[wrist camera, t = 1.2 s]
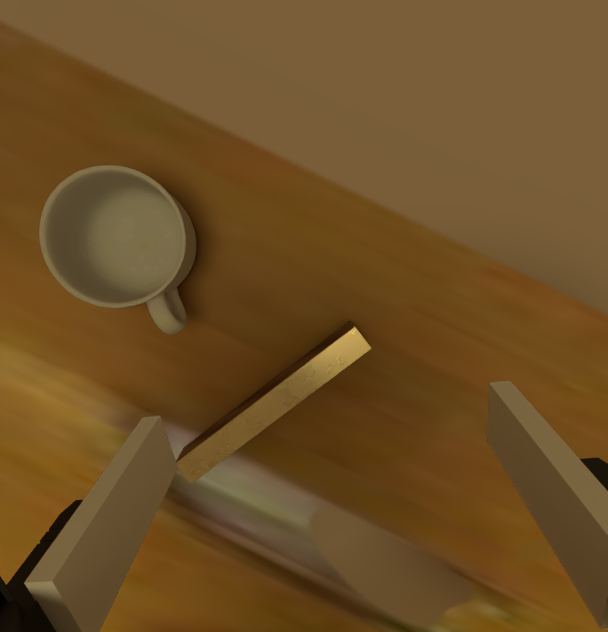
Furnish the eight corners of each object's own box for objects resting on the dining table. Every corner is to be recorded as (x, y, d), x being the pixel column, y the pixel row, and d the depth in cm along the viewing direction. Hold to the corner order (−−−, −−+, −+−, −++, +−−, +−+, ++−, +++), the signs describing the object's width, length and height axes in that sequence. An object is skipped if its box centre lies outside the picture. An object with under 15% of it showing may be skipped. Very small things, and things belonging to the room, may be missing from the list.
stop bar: (199, 465, 40) (190, 484, 36) (183, 447, 39) (173, 464, 36) (365, 340, 38) (371, 348, 35) (349, 320, 38) (354, 326, 34)
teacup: (76, 203, 35) (13, 188, 27) (185, 168, 35) (153, 143, 27) (131, 341, 37) (87, 364, 30) (233, 309, 37) (217, 324, 29)
